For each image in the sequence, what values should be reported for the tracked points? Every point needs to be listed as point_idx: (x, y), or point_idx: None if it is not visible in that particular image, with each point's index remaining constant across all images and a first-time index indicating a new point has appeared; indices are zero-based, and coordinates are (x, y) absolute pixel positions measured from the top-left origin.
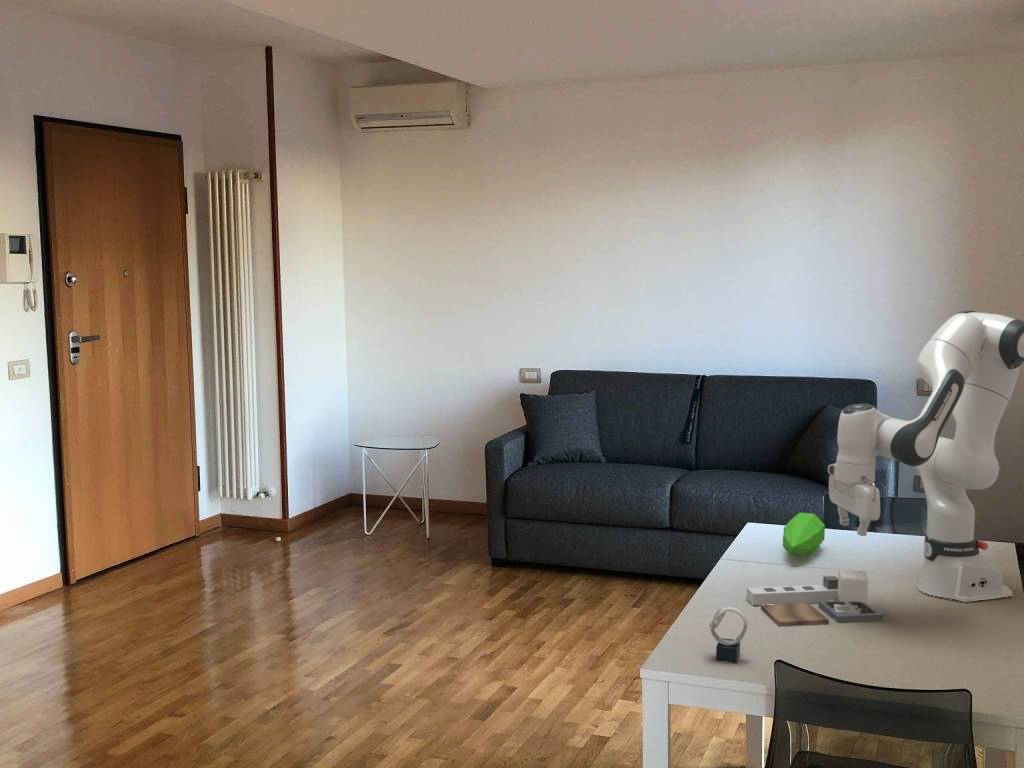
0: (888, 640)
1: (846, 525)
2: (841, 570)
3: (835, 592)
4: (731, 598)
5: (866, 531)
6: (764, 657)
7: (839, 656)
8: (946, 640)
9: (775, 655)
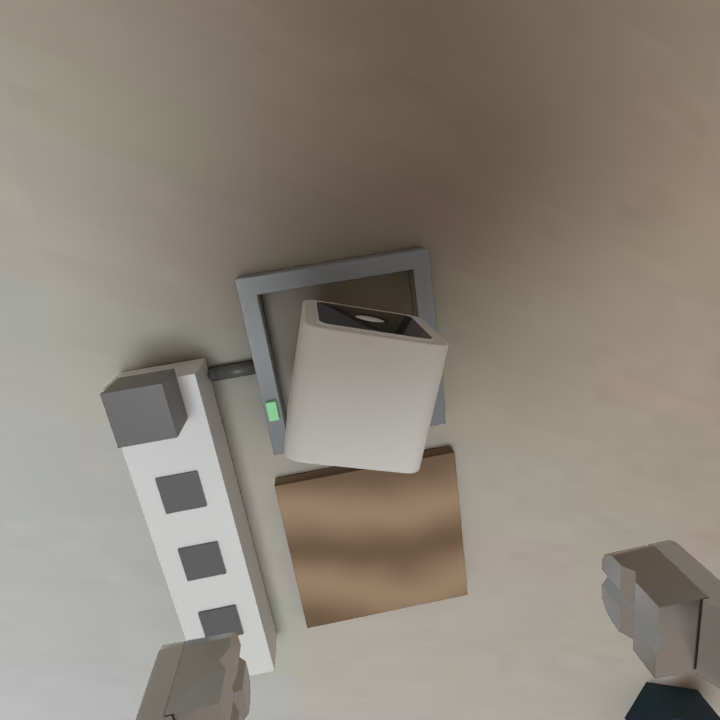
0: (615, 289)
1: (240, 647)
2: (309, 452)
3: (201, 387)
4: None
5: (704, 571)
6: None
7: (708, 468)
8: (648, 60)
9: None
